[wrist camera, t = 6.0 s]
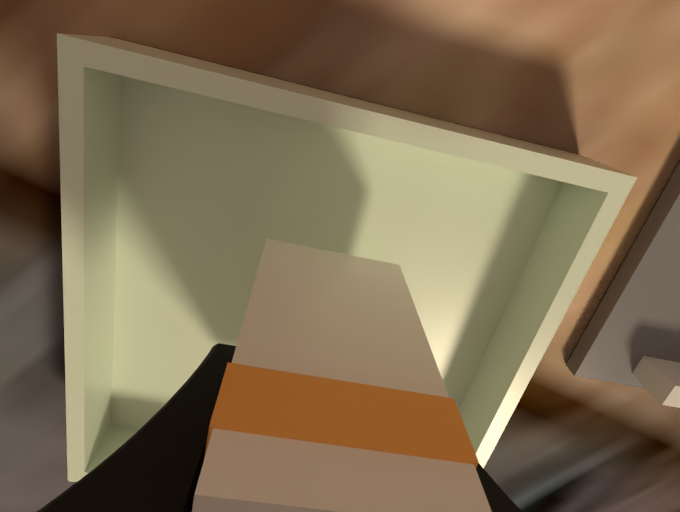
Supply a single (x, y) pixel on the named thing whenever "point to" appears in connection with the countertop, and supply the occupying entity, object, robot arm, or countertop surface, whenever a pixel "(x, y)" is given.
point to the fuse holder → (641, 311)
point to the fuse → (334, 398)
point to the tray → (296, 228)
